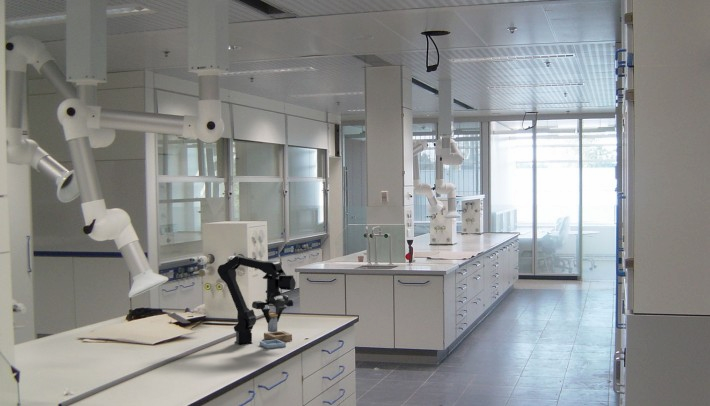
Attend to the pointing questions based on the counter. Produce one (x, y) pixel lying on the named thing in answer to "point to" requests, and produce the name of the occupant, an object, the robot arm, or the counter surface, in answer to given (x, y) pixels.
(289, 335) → the brown square frame
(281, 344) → the tray
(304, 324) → the counter surface
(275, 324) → the pin
